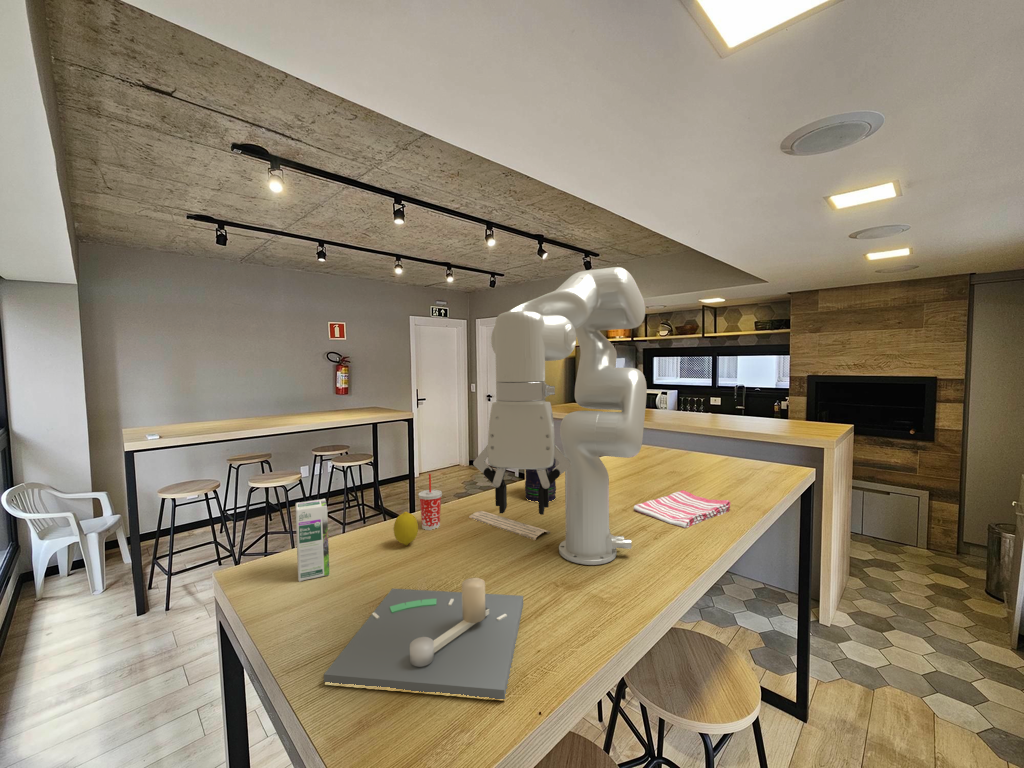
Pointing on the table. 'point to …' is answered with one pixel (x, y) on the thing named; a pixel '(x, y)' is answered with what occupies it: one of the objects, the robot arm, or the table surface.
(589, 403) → the robot arm
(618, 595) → the table surface
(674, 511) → the dish towel
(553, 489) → the storage jar
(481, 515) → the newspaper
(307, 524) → the syrup box
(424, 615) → the dial board
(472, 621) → the tuning lever
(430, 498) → the beverage cup
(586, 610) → the table surface
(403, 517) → the lemon
